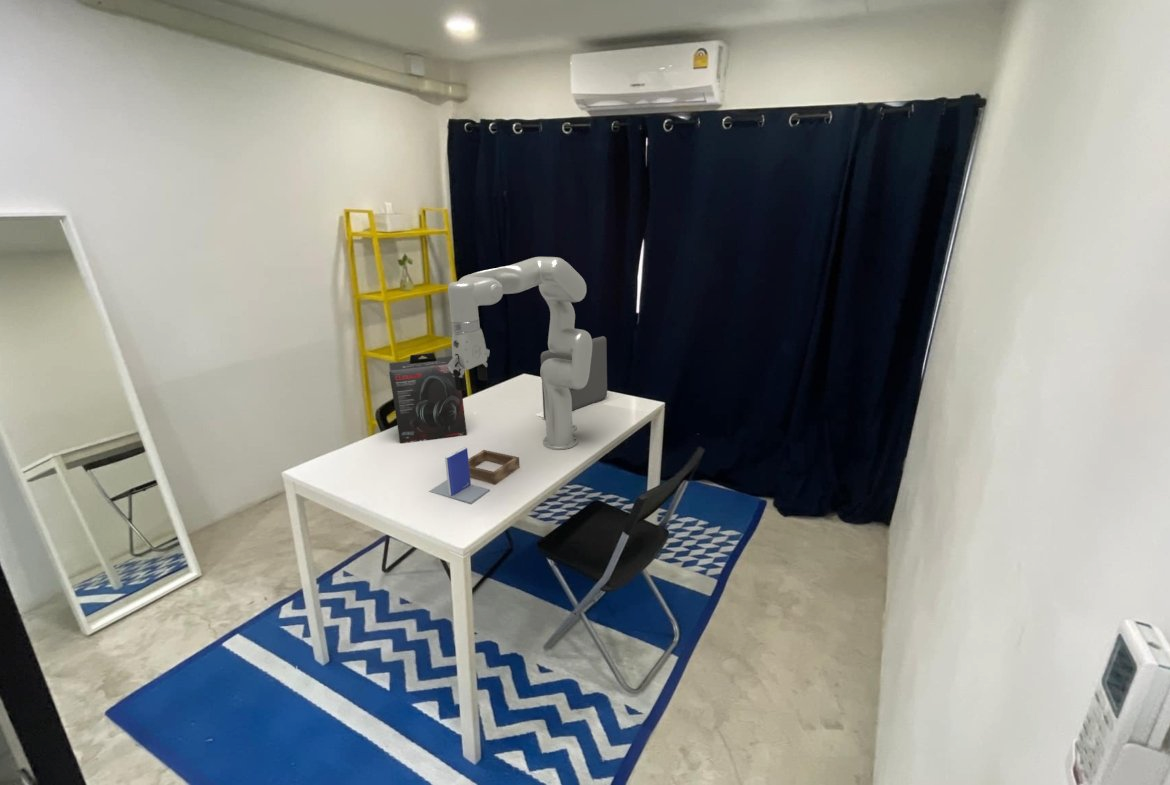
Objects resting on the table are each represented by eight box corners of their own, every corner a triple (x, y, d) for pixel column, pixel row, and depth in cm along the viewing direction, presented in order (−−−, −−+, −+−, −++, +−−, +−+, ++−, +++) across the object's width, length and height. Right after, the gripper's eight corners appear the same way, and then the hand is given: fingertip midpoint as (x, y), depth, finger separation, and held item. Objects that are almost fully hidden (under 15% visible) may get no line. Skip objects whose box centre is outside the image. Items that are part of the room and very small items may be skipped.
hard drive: (471, 485, 172) (467, 448, 168) (452, 496, 165) (448, 458, 161) (467, 483, 172) (464, 447, 169) (448, 495, 166) (444, 457, 162)
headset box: (399, 448, 202) (387, 361, 191) (398, 436, 213) (387, 352, 203) (467, 438, 209) (459, 353, 199) (463, 427, 220) (455, 346, 210)
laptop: (562, 387, 267) (560, 327, 258) (608, 400, 248) (607, 335, 239) (500, 408, 241) (494, 342, 232) (546, 424, 222) (542, 352, 213)
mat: (449, 481, 176) (448, 478, 176) (490, 491, 169) (489, 489, 169) (429, 493, 169) (429, 491, 168) (471, 504, 161) (470, 502, 161)
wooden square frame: (484, 460, 190) (483, 449, 189) (519, 468, 184) (519, 457, 182) (459, 476, 179) (457, 465, 178) (495, 485, 173) (494, 473, 171)
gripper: (455, 334, 146) (462, 395, 152) (495, 321, 160) (500, 378, 166) (434, 332, 149) (441, 392, 155) (475, 319, 164) (480, 375, 169)
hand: (472, 384), depth 160 cm, fingers open, 9 cm apart
